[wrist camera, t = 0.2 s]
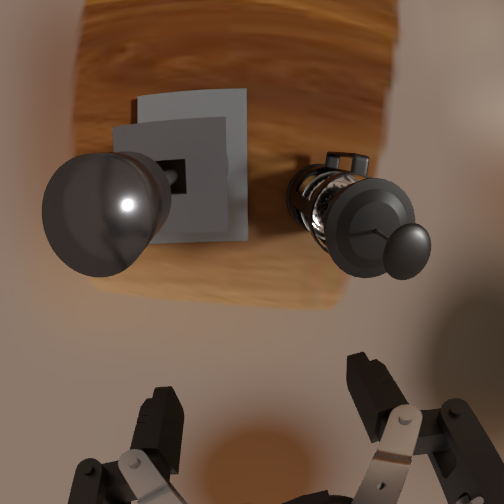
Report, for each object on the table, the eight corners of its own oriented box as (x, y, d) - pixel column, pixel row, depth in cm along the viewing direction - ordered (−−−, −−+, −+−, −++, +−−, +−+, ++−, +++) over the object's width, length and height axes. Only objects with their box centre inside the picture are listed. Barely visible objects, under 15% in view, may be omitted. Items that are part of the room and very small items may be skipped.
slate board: (140, 97, 34) (137, 96, 33) (245, 90, 35) (246, 88, 34) (147, 241, 40) (145, 244, 39) (247, 238, 41) (248, 240, 40)
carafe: (134, 135, 34) (82, 131, 21) (228, 128, 35) (227, 115, 21) (138, 206, 38) (91, 238, 24) (229, 201, 38) (229, 232, 24)
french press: (343, 238, 42) (434, 320, 21) (281, 231, 41) (334, 322, 20) (357, 158, 39) (473, 177, 17) (292, 146, 38) (370, 146, 16)
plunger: (143, 152, 22) (36, 163, 8) (196, 148, 23) (144, 146, 9) (146, 204, 24) (53, 277, 10) (198, 201, 24) (155, 276, 10)
